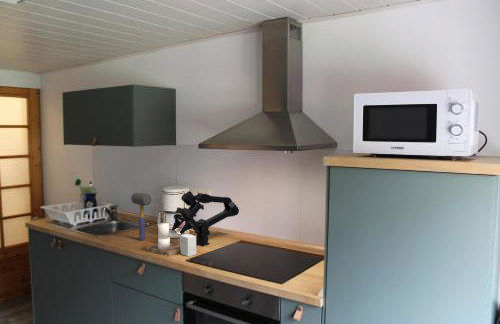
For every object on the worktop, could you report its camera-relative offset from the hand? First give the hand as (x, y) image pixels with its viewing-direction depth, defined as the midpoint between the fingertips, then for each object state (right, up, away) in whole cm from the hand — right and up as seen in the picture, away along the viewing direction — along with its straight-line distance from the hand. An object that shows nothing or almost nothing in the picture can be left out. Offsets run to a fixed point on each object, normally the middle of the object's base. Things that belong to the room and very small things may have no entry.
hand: (176, 231), depth 234 cm
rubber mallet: (-26, -9, +22) cm, 35 cm away
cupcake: (-4, -8, +39) cm, 40 cm away
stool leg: (-6, -11, -4) cm, 13 cm away
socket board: (-5, -11, -1) cm, 12 cm away
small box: (+8, -11, -8) cm, 16 cm away
